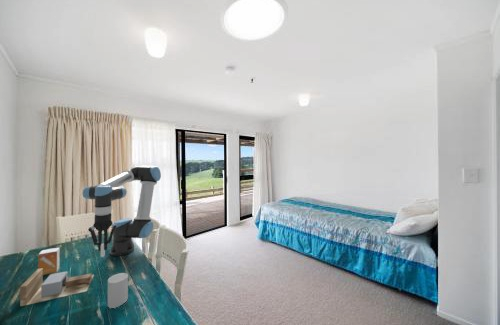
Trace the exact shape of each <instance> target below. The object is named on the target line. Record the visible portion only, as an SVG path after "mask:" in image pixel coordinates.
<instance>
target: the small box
mask: <svg viewBox="0 0 500 325" xmlns="http://www.w3.org/2000/svg"><path fill="white" fill-rule="evenodd" d="M60 249H61V248H60V247H53V248H47V249H43V250H41V251H40V252H39V253H38V256H37V258H38V261H37V262H38V264H37V267H38V268H37V269H41V268H43V276H45V275H50V274H55V273H58V271H59V269H60V251H61V250H60Z"/></svg>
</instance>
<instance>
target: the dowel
mask: <svg viewBox="0 0 500 325" xmlns="http://www.w3.org/2000/svg"><path fill="white" fill-rule="evenodd" d="M92 275H93V274H92V272H91V273H90V272H89V273H86V274H80V275H76V276H71V277H68V279H67V280H66V282H65V288H68V287H73V286H78V285H82V284H87V285H89V284H90V285H91V283H92V281H93V279H92ZM90 285H89V286H90Z"/></svg>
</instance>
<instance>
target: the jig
mask: <svg viewBox="0 0 500 325" xmlns="http://www.w3.org/2000/svg"><path fill="white" fill-rule="evenodd" d="M94 276H95V274H92V280H93V279H94ZM43 278H44V275H43V268H41V269H38V268H37V269H36V270H35V271H34V272H33V273H32V274H31V275H30V276H29V277H28V278H27V279H26V280H25V281H24V282H23V283H22V284H20V285H21V286H20V287H19V298H20V299H19V301H20V302H19V304H20V305H19V306H20V307H24V306H27V305H28V306H29V305H32V304H36V303H42V302H46V301H50V300H54V299H55V300H56V299H58V298H59V299H60V298H64V297H67V296H72V295H76V294H77V295H78V294H80V293H81V294H82V293H85V292H87V291H88V290H89V287H90V285H91V283H90V284H89V285H87V284H82V285H78V286H73V287H68V288H65V285H62V292H61V293H59V294H55V295H50V296H46V297H41V285H42V284H43V283H44V279H43Z"/></svg>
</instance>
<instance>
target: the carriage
mask: <svg viewBox="0 0 500 325" xmlns="http://www.w3.org/2000/svg"><path fill="white" fill-rule="evenodd" d="M68 274H69V272H68V271H62V272H61V271H60V272H56V273H51V274H48V277H47V278H45V280H43V284H42V285H41V297H46V296H50V295H55V294H59V293H61V292H62V285H65V282H66V280H67V279H68V278H69V276H68Z"/></svg>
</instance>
